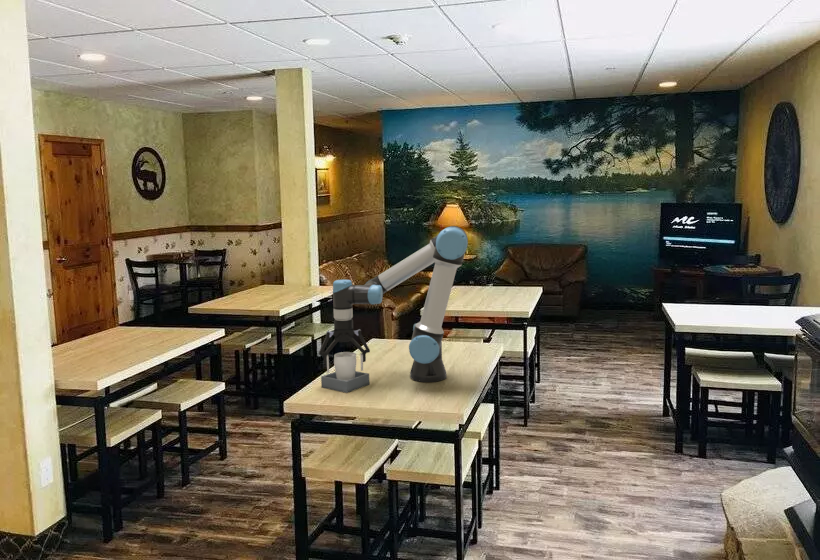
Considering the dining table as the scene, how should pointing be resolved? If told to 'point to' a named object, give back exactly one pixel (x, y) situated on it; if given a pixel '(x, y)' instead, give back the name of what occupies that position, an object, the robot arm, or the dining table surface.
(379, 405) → the dining table surface
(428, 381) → the robot arm
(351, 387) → the bin
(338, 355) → the cup
